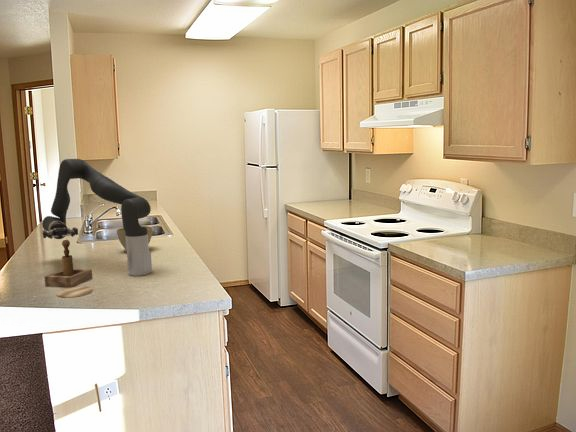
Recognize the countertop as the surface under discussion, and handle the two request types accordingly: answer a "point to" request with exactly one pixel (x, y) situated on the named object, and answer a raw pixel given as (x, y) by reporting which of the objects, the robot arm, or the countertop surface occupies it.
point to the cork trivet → (74, 291)
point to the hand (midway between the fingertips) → (62, 235)
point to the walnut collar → (68, 278)
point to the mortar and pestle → (67, 260)
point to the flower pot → (122, 235)
